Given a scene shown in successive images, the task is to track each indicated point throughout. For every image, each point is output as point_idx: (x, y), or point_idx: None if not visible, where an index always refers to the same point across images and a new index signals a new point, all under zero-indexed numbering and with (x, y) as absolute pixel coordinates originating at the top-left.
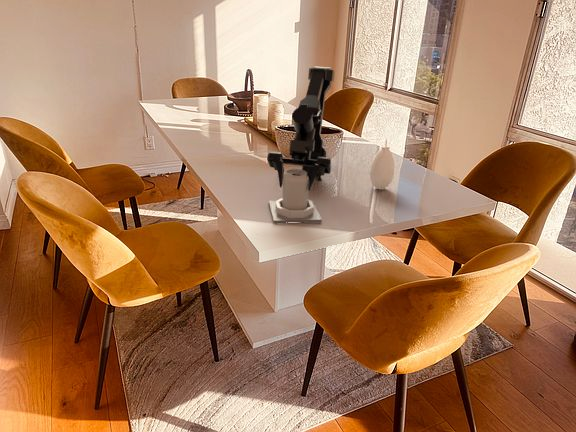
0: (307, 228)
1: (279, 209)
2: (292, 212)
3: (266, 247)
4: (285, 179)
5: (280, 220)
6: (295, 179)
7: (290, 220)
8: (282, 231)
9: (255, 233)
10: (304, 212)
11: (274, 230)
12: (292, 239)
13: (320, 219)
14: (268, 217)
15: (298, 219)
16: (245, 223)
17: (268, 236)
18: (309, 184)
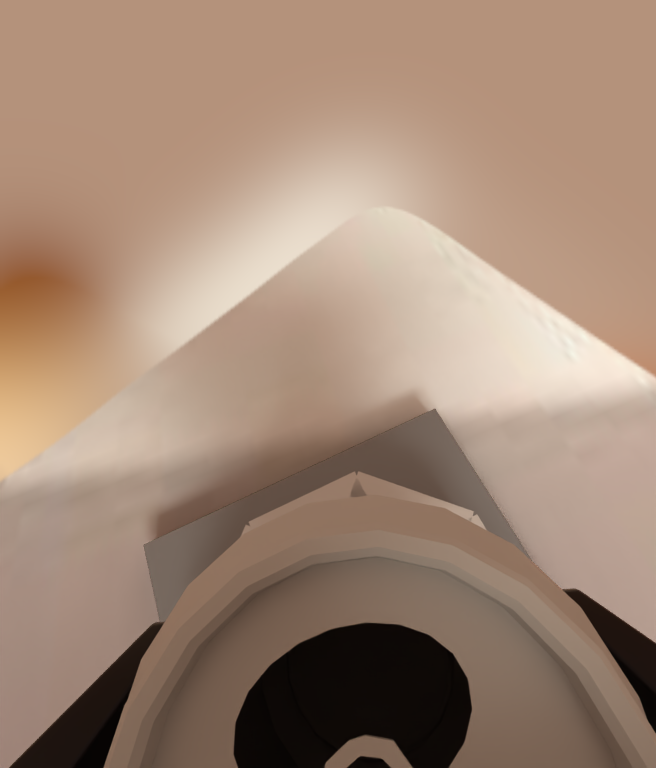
0: (232, 437)
1: (450, 506)
2: (337, 482)
3: (368, 220)
4: (519, 551)
5: (398, 426)
6: (324, 523)
7: (340, 453)
8: (353, 357)
9: (468, 293)
10: (254, 521)
11: (395, 351)
12: (284, 307)
13: (152, 542)
14: (504, 489)
15: (294, 484)
16: (580, 363)
17: (398, 292)
18: (129, 680)
